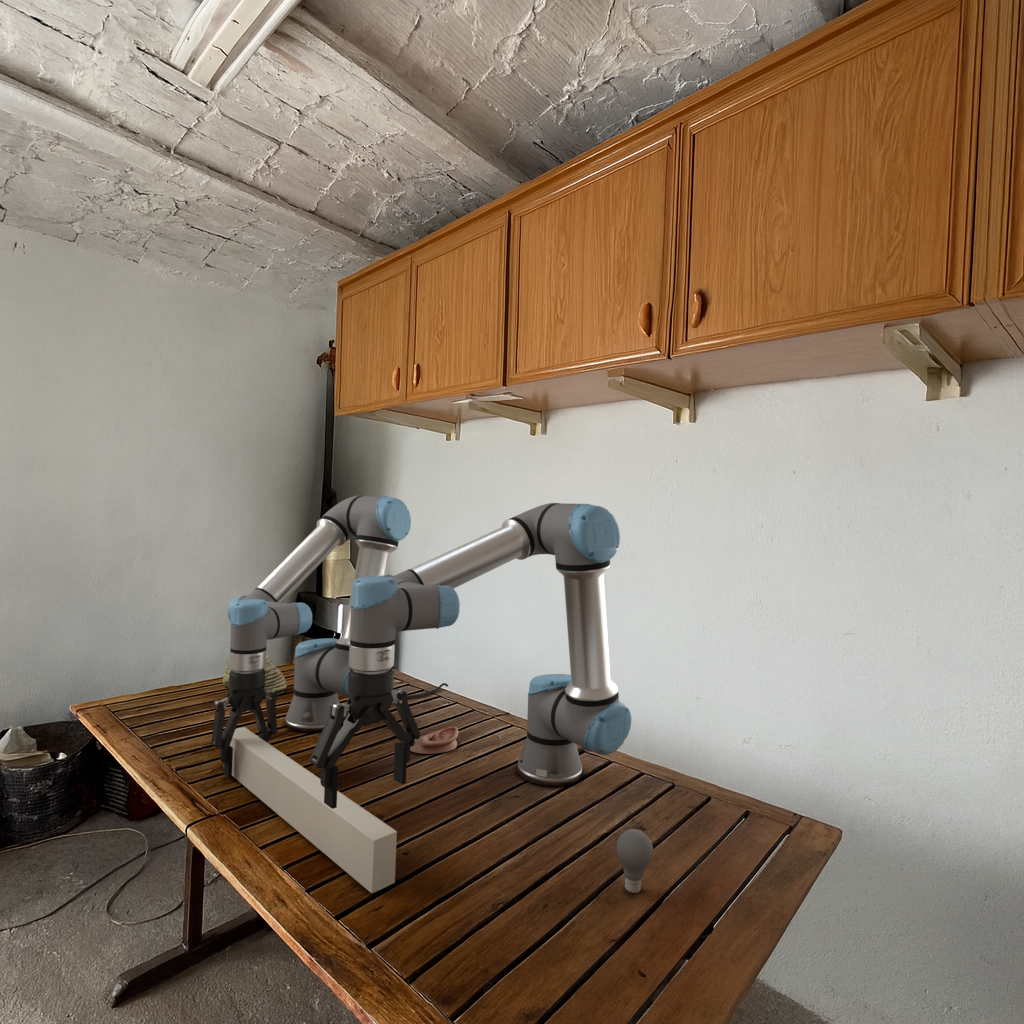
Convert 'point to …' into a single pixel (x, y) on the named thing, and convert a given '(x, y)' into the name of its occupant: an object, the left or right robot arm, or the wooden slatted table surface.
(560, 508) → the right robot arm
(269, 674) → the fossil
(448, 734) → the anatomical model
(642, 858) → the light bulb
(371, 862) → the bar
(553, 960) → the wooden slatted table surface
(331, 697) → the left robot arm
